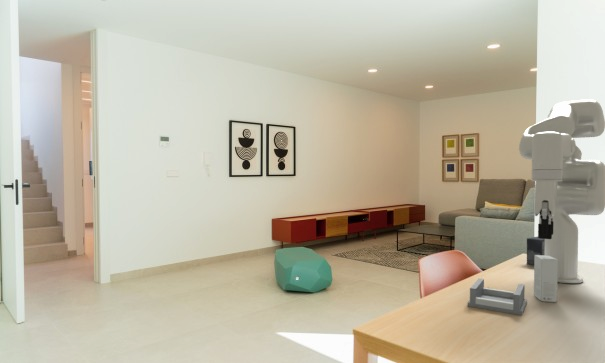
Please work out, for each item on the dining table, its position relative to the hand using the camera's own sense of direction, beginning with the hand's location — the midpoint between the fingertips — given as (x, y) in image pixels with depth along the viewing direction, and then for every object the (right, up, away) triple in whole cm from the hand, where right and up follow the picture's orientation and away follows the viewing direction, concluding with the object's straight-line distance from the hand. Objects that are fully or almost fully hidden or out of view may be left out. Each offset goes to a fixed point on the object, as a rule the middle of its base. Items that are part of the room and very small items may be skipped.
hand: (545, 236), depth 116 cm
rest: (-16, -18, -4) cm, 24 cm away
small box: (+25, -17, +45) cm, 54 cm away
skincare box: (0, -18, +1) cm, 18 cm away
